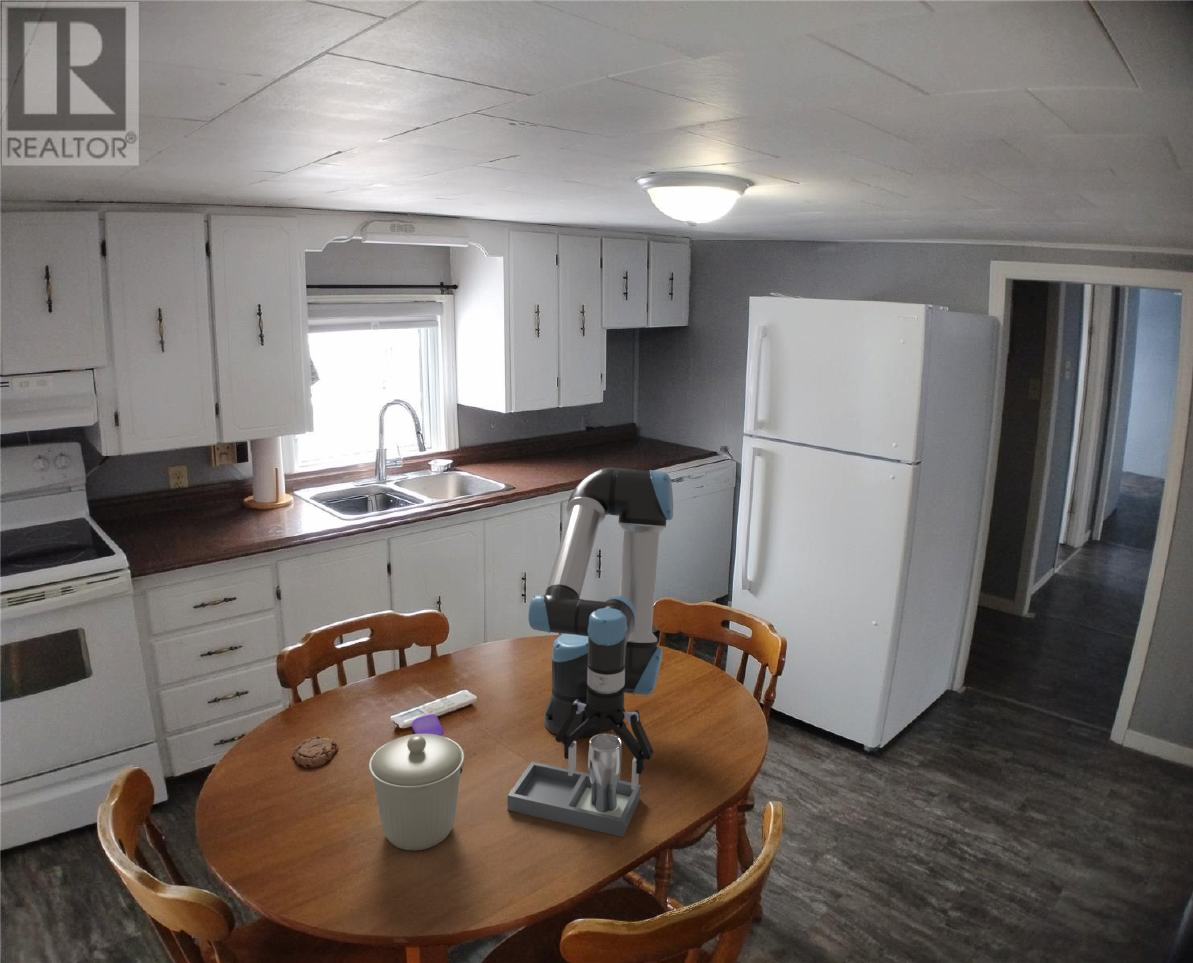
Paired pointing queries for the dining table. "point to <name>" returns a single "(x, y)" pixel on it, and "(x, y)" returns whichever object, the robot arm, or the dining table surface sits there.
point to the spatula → (428, 726)
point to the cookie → (314, 751)
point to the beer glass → (604, 772)
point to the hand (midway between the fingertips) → (603, 779)
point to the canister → (417, 788)
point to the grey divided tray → (570, 799)
